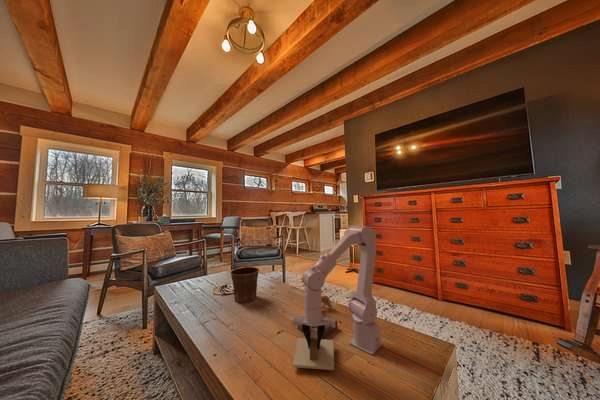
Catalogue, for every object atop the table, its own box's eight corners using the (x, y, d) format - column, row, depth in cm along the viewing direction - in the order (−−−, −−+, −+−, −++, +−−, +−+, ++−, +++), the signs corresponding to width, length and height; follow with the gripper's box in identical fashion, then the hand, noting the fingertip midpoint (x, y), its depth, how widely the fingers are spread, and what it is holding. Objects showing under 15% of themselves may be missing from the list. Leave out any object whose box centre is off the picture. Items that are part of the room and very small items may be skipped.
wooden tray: (337, 328, 90) (337, 321, 90) (319, 341, 82) (319, 333, 82) (315, 318, 99) (315, 312, 99) (297, 329, 90) (297, 322, 90)
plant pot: (224, 303, 117) (224, 273, 118) (240, 292, 133) (240, 266, 134) (250, 306, 113) (250, 275, 114) (264, 294, 128) (263, 267, 129)
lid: (333, 342, 78) (332, 329, 78) (334, 370, 65) (333, 354, 65) (297, 340, 79) (297, 327, 79) (292, 367, 67) (292, 351, 67)
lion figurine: (307, 314, 103) (307, 295, 103) (303, 309, 108) (303, 291, 108) (334, 309, 108) (334, 291, 108) (329, 305, 113) (329, 287, 113)
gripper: (334, 301, 76) (335, 341, 75) (294, 300, 77) (294, 338, 77) (335, 311, 69) (336, 354, 68) (290, 309, 70) (291, 351, 70)
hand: (314, 347), depth 72 cm, fingers closed on lid, 2 cm apart
